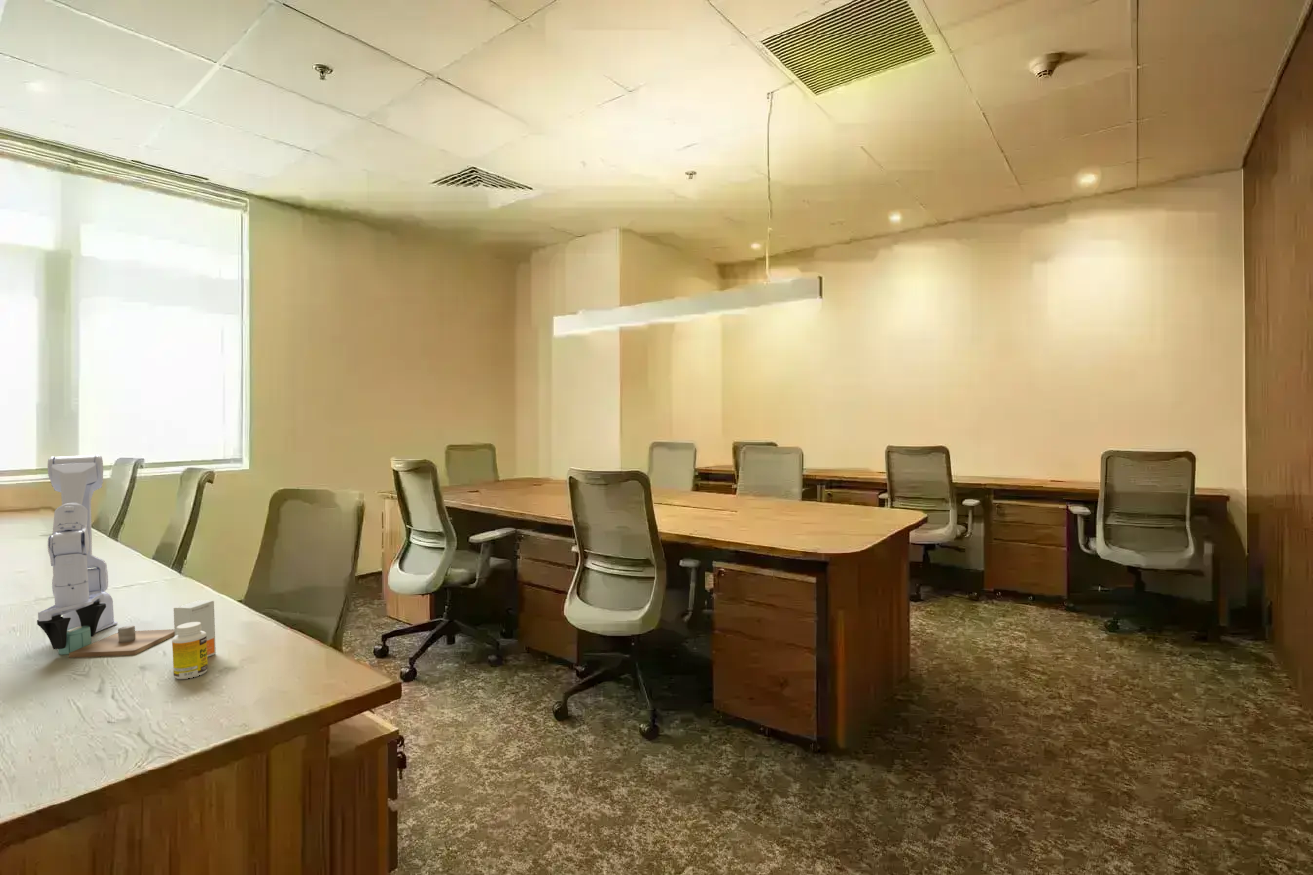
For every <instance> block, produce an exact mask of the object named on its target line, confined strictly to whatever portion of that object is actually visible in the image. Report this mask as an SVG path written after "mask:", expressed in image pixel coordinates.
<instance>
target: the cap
mask: <svg viewBox="0 0 1313 875" xmlns="http://www.w3.org/2000/svg"><path fill="white" fill-rule="evenodd" d="M90 644H92V637H91V630H90V626H78V627H73V628H68V629H67V640H66V647H65V648H63V649H57V651H58V655H69V653H71V652H73V651H75V650H78V649H80V648H82V647H85V646H87V645H90Z"/></svg>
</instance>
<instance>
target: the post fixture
mask: <svg viewBox="0 0 1313 875" xmlns="http://www.w3.org/2000/svg"><path fill="white" fill-rule="evenodd" d="M174 637H175V631H174V628H173V629H146V630H145V629H144V630H136V626H135V625H126V626H121V627H119V628H117V632H116V633H114V634H111V635H108V636H106V637H103V638H101V639H99V640H97V641H95V642H91V644H90V645H87V646H85V647H82V648H80V649H78V650H75V651H73V652H71V653H69V654H68V658H69V659H72V658H73V659H74V658H92V657H115V656H119V657H120V656H136V655H139V653H141V652H143V651H146V650H147V649H149V648H152V647H153V646H156V645H158V644H160V642H161V643H162V641H163V642H164V640H165V641H166V639H167V640H169V639H171V638H174Z"/></svg>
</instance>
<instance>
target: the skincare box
mask: <svg viewBox="0 0 1313 875" xmlns="http://www.w3.org/2000/svg"><path fill="white" fill-rule="evenodd" d="M215 619H216V618H215V601H214V600H207V599H205V600H204V599H199V600H195V601H191V602H187V603H185V604H183V605H179V606H176V607H174V608H173V623H174V624H173V625H174V628H173V629H174V631H175V636H176V635H177V626H179V625H181V624H185V623H190V622H200V623H201V627H202V628H201V631H204V632H206V638H207V658H209V657H211V656H215V655H216V653H217V652H216V650H217V648H216V628H215V627H216V625H215V623H216V622H215ZM175 636H174V637H175ZM214 654H215V655H214Z"/></svg>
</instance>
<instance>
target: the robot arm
mask: <svg viewBox="0 0 1313 875" xmlns="http://www.w3.org/2000/svg"><path fill="white" fill-rule="evenodd" d="M47 476H48V479H49V480H50V484H51V486H52V488H53V490H54V491H55V492H58V493H60V494H61V495H60V496H61V505H59V506H58V507H57V508H56V509H55V510H54V512H53V524H52V525H53V526H52V535H50V534H49V535H48V537H47V552H48V554H49V560H50V566H51V567H52V579H51V582H52V584H51V585H52V586H51V588H52V596H53V597H54V604H52V605H51V606H50V607H47V608H45V609H44V610H42V611H38V612H37V619H36V625H38V626H39V627H40V629H41V630H43V632H44V633H45V634H46V636H47V638H48V640H49V642H50V644H51V646H52V648H53V650H58V649H63V648H65V647H66V640H67V629H68V628H73V627H78V626H90V630H91V638H92V637H95V636H96V633H98V632H100V631H102V630H105V629H108V628H110V627H113V626H115V625H117V624H118V621H115V617H114V616H115V614H114V601H113V598H112V595H111V594H110V593H109V592H106V591H107V590H108V588H109V573H108V572H109V571H108V567H107V562H105V560H104V559H102V558H100V557H97V556H95V555H93V544H92V543H93V542H92V531H93V530H92V498H93V495H94V492H95V491H97V490H100V489H101V488H102V487H103V484H104V461H103V456H102V455H100V454H98V453H97V454H87V455H68V456H67V455H65V456H55V455H51V456H50V458H48V460H47Z"/></svg>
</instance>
